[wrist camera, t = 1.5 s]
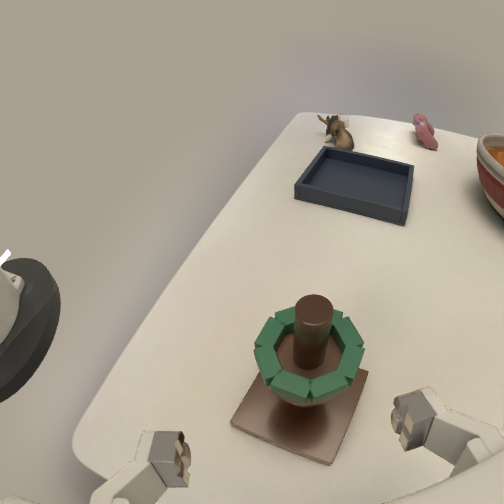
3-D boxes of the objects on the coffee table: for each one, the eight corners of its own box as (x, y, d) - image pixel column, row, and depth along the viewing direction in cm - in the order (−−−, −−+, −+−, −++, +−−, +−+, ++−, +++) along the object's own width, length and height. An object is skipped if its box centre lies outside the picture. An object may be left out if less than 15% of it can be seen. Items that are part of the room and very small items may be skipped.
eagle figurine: (307, 130, 63) (317, 140, 56) (324, 102, 60) (336, 108, 52) (336, 148, 65) (350, 159, 58) (353, 121, 62) (369, 129, 55)
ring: (239, 378, 19) (237, 370, 18) (283, 303, 22) (283, 292, 22) (338, 417, 16) (341, 411, 15) (370, 331, 20) (373, 321, 19)
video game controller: (418, 137, 66) (408, 111, 63) (435, 133, 63) (426, 107, 60) (420, 154, 59) (410, 125, 56) (439, 150, 57) (430, 120, 53)
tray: (294, 198, 47) (294, 184, 46) (323, 157, 56) (323, 145, 55) (404, 226, 41) (407, 211, 39) (411, 177, 50) (414, 165, 48)
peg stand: (231, 425, 24) (190, 346, 15) (277, 345, 30) (271, 233, 20) (329, 465, 21) (373, 419, 11) (366, 376, 26) (411, 272, 17)
